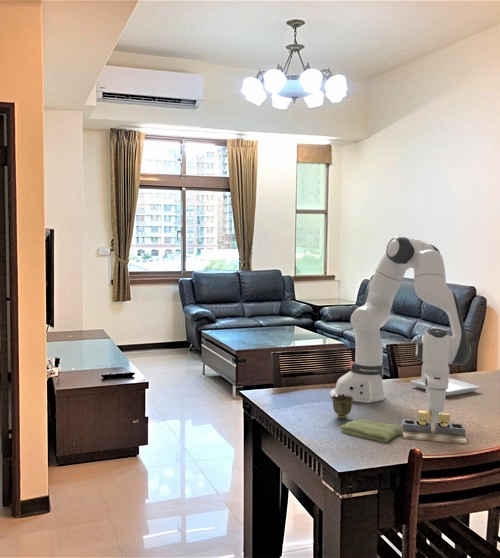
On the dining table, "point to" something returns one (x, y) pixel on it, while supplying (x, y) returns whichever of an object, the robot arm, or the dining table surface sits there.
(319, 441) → the dining table surface
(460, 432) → the chain ends
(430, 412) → the tan bar
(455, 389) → the salad plate
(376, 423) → the washcloth
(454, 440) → the chain board
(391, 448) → the dining table surface
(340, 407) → the cup
